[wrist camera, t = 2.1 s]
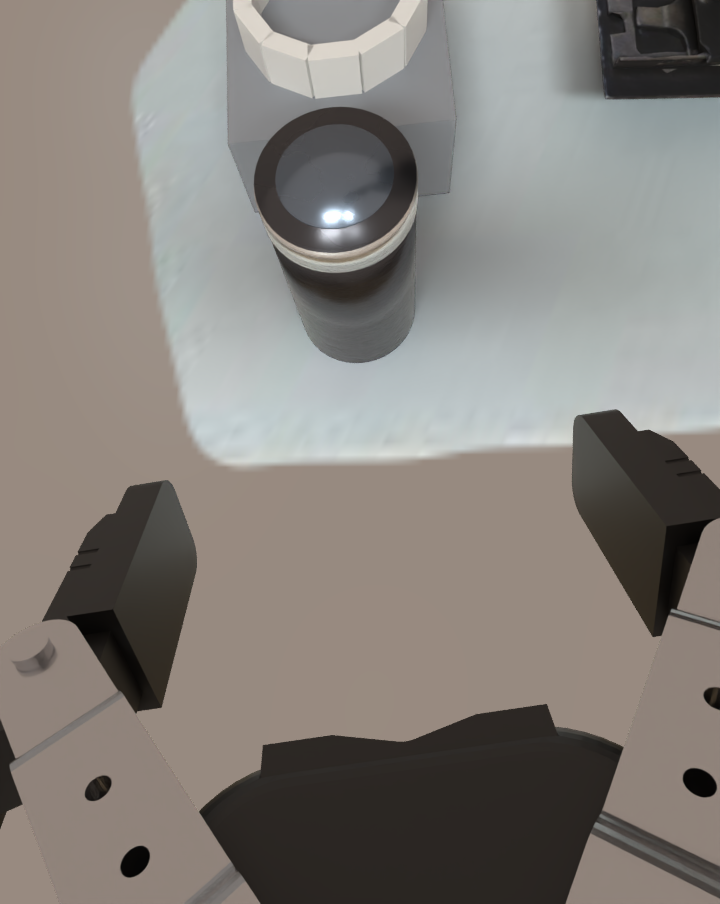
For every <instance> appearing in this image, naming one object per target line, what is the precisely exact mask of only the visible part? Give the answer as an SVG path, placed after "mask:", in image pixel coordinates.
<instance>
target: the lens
mask: <svg viewBox="0 0 720 904" xmlns="http://www.w3.org/2000/svg"><path fill="white" fill-rule="evenodd" d="M254 197H255V201H256V205H257V208H258V211H259V213H260V216H261V219H262V221H263V224H264V226H265V229H266V231H267V234H268V236H269V237H270V239H271V241H272V243H273V246H274V249H275V251H276V254H277V256H278V259H279V262H280V264H281V267H282V269H283V272H284V275H285V277H286V280H287V283H288V285H289V288H290V290H291V293H292V296H293V298H294V301H295V303H296V306H297V309H298V311H299V314H300V316H301V319H302V322H303V324H304V327H305V329H306V332H307V334H308V336H309V338H310V339H311V341H312V342H313V343H314V345H315V346H316V347H317V348H318V349H319V350H320V351H322V352H323V353H325V354H326V355H328V356H330V357H332V358H334V359H337V360H339V361H344V362H350V363H363V362H370V361H373V360H377V359H379V358H382V357H384V356H385V355H387V354H389V353H390V352H392V351H393V350H395V349H396V348H397V347H398V346H399V345H400V344H401V343H402V342H403V340H404V339H405V338H406V336H407V334H408V333H409V331H410V328H411V326H412V323H413V319H414V306H415V244H416V211H417V204H418V169H417V164H416V160H415V157H414V154H413V151H412V149H411V147H410V145H409V143H408V141H407V140H406V138H405V137H404V135H403V134H402V133H401V132H400V131H399V130H398V129H397V128H396V127H395V126H394V125H393V124H391V123H390V122H389V121H388V120H386V119H384V118H383V117H381V116H379V115H377V114H374V113H372V112H369V111H366V110H363V109H358V108H352V107H329V108H323V109H318V110H315V111H311V112H308V113H306V114H303V115H301V116H299V117H297V118H295V119H293V120H292V121H290V122H289V123H287V124H286V125H284V126H283V127H282V128H281V129H280V130H278V131H277V132H276V133H275V134H274V135H273V137H272V138H271V139H270V140H269V141H268V143H267V144H266V146H265V147H264V149H263V151H262V152H261V154H260V156H259V159H258V162H257V165H256V169H255V174H254Z"/></svg>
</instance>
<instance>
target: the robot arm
mask: <svg viewBox="0 0 720 904" xmlns="http://www.w3.org/2000/svg"><path fill="white" fill-rule="evenodd" d="M572 489H573V495H574V500H575V503H576V507H577V509H578V511H579V514H580V515H581V517H582V519H583V520H584V522H585V524H586V525H587V527H588V529H589V530H590V532H591V534H592V535H593V537H594V539H595V541H596V542H597V544H598V546H599V547H600V549H601V551H602V552H603V554H604V556H605V557H606V559H607V561H608V562H609V564H610V566H611V567H612V569H613V571H614V573H615V574H616V576H617V578H618V579H619V581H620V583H621V584H622V586H623V588H624V589H625V591H626V593H627V594H628V596H629V598H630V599H631V601H632V603H633V605H634V606H635V608H636V610H637V611H638V613H639V614H640V616H641V618H642V620H643V621H644V623H645V625H646V626H647V628H648V630H649V631H650V633H651V635H652V636H653V637H656V636H661V639H660V642H659V645H658V648H657V651H656V654H655V657H654V660H653V663H652V666H651V669H650V672H649V675H648V678H647V681H646V683H645V686H644V689H643V693H642V695H641V699H640V701H639V704H638V707H637V710H636V713H635V716H634V719H633V722H632V725H631V728H630V731H629V733H628V736H627V740H626V742H625V745H624V747H622V746H620V745H618V744H616V743H614V742H611V741H609V740H607V739H604V738H602V737H598V736H595V735H592V734H590V733H586V732H582V731H578V730H573V729H568V728H561V727H555V726H554V723H553V720H552V717H551V715H550V712H549V709H548V706H547V704H544V705H537V706H530V707H523V708H517V709H509V710H503V711H496V712H489V713H482V714H476V715H474V716H471V717H468V718H466V719H463V720H461V721H458V722H456V723H453V724H451V725H449V726H446V727H443V728H441V729H438V730H436V731H433V732H431V733H429V734H426V735H424V736H421V737H419V738H416V739H414V740H411V741H406V742H396V741H385V740H375V739H365V738H355V737H345V736H335V735H330V736H323V737H316V738H310V739H303V740H296V741H289V742H282V743H275V744H268V745H263V751H262V763H261V770H259V771H256V772H254V773H251V774H250V775H248V776H246V777H244V778H242V779H240V780H238V781H236V782H235V783H233V784H232V785H230V786H229V787H228V788H226V789H225V790H223V791H222V792H220V793H219V794H218V795H217V796H215V797H214V798H213V799H212V800H211V801H210V802H208V803H207V804H206V805H205V806H204V807H203V808H202V809H201V810H200V811H198V810H197V808H196V807H195V805H194V804H193V802H192V801H191V799H190V797H189V796H188V794H187V793H186V791H185V790H184V788H183V787H182V785H181V783H180V782H179V780H178V779H177V777H176V776H175V774H174V772H173V771H172V769H171V768H170V766H169V765H168V763H167V762H166V760H165V759H164V757H163V755H162V754H161V752H160V751H159V749H158V748H157V746H156V745H155V743H154V742H153V740H152V738H151V737H150V735H149V734H148V732H147V731H146V729H145V727H144V726H143V724H142V723H141V721H140V720H139V718H138V717H137V715H136V713H137V711H142V710H149V709H156V708H161V707H162V704H163V700H164V695H165V692H166V688H167V684H168V680H169V676H170V671H171V668H172V664H173V660H174V656H175V652H176V648H177V645H178V641H179V636H180V633H181V629H182V625H183V621H184V617H185V613H186V609H187V604H188V601H189V597H190V593H191V589H192V585H193V582H194V578H195V574H196V568H197V556H196V548H195V544H194V540H193V537H192V535H191V532H190V529H189V527H188V524H187V521H186V519H185V516H184V513H183V511H182V508H181V506H180V503H179V500H178V497H177V495H176V492H175V489H174V487H173V485H172V484H171V483H170V482H169V481H168V480H165V481H159V482H152V483H146V484H140V485H134V486H130V487H129V488H128V489H127V490H126V492H125V494H124V496H123V498H122V501H121V503H120V505H119V507H118V509H117V511H116V513H114V514H108V515H106V516H105V517H104V518H102V519H101V521H99V522H98V523H97V524H96V525H95V526H94V527H93V528H92V529H91V530H90V531H89V532H88V533H87V535H86V537H85V539H84V541H83V543H82V545H81V547H80V549H79V551H78V555H76V556H75V558H74V560H73V562H72V564H71V566H70V571H68V572H67V574H66V576H65V578H64V580H63V582H62V584H61V586H60V588H59V589H58V592H57V593H56V595H55V597H54V599H53V601H52V603H51V605H50V607H49V609H48V611H47V613H46V615H45V617H44V619H43V620H42V622H40V623H37V624H35V625H32V626H29V627H27V628H25V629H24V630H22V631H20V632H18V633H17V634H15V635H14V636H12V637H11V638H10V639H8V640H7V641H6V642H5V643H4V644H2V645H1V646H0V828H1V825H2V823H3V820H4V817H5V815H6V812H7V811H9V810H11V809H13V808H15V807H18V806H20V805H22V804H23V806H24V809H25V811H26V814H27V817H28V820H29V822H30V825H31V828H32V830H33V833H34V836H35V838H36V841H37V843H38V847H39V849H40V852H41V855H42V857H43V860H44V863H45V866H46V868H47V871H48V874H49V876H50V879H51V882H52V884H53V887H54V890H55V892H56V895H57V898H58V901H59V903H60V904H720V489H719V488H718V487H717V486H716V485H715V484H714V483H713V482H712V481H711V480H710V479H709V478H708V477H707V476H706V475H705V474H704V473H703V474H702V473H701V470H700V469H699V468H698V467H697V466H696V465H695V464H694V462H693V461H691V460H690V461H689V459H688V456H687V455H686V454H685V453H684V452H683V451H682V450H681V449H680V448H679V447H678V446H677V445H676V444H675V443H674V442H673V441H671V440H669V439H667V438H665V437H663V436H661V435H659V434H657V433H655V432H653V431H651V430H644V431H637V430H636V429H635V428H634V427H633V425H632V424H631V423H630V422H629V421H628V420H627V419H626V418H625V417H624V415H623V414H622V413H621V412H620V411H619V410H616V409H615V410H608V411H602V412H596V413H590V414H583V415H578V416H576V418H575V420H574V426H573V460H572Z"/></svg>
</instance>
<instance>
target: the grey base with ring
mask: <svg viewBox="0 0 720 904" xmlns="http://www.w3.org/2000/svg"><path fill="white" fill-rule="evenodd" d="M226 27H227V111H228V145H229V148H230V150H231V153H232V156H233V158H234V161H235V163H236V166H237V168H238V171H239V173H240V176H241V178H242V181H243V183H244V186H245V188H246V191H247V193H248V196H249V198H250V201H251V203H252V206H253V208H254V211H255V212H259V211H258V208H257V205H256V201H255V197H254V174H255V169H256V165H257V162H258V159H259V156H260V154H261V152H262V151H263V149H264V147H265V146H266V144H267V143H268V141H269V140H270V139H271V138H272V137H273V135H274V134H275V133H276V132H277V131H278V130H280V129H281V128H282V127H283V126H284V125H286V124H287V123H289V122H290V121H292V120H293V119H295V118H297V117H299V116H301V115H303V114H306V113H308V112H311V111H315V110H318V109H323V108H329V107H352V108H358V109H363V110H366V111H369V112H372V113H374V114H377V115H379V116H381V117H383V118H384V119H386V120H388V121H389V122H390V123H391V124H393V125H394V126H395V127H396V128H397V129H398V130H399V131H400V132H401V133H402V134H403V135H404V137H405V138H406V140H407V141H408V143H409V145H410V147H411V149H412V151H413V154H414V157H415V160H416V164H417V169H418V196H422V195H432V194H442V193H449V190H450V179H451V169H452V159H453V148H454V138H455V128H456V112H455V103H454V95H453V86H452V77H451V68H450V59H449V51H448V42H447V33H446V24H445V15H444V7H443V0H226Z"/></svg>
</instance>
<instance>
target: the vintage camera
mask: <svg viewBox="0 0 720 904" xmlns="http://www.w3.org/2000/svg"><path fill="white" fill-rule="evenodd" d="M596 3H597V15H598V28H599V39H600V51H601V63H602V74H603V84H604V94H605V99H657V98H708V97H720V0H596Z"/></svg>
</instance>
